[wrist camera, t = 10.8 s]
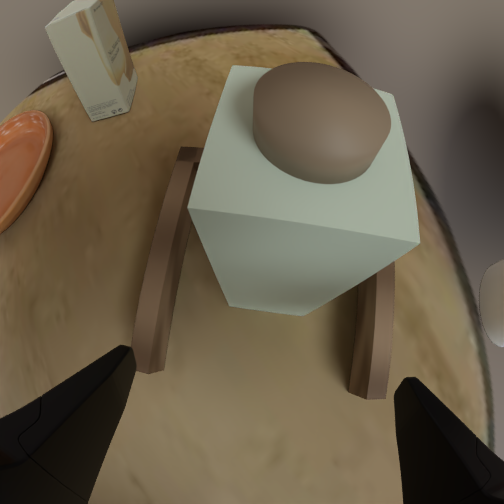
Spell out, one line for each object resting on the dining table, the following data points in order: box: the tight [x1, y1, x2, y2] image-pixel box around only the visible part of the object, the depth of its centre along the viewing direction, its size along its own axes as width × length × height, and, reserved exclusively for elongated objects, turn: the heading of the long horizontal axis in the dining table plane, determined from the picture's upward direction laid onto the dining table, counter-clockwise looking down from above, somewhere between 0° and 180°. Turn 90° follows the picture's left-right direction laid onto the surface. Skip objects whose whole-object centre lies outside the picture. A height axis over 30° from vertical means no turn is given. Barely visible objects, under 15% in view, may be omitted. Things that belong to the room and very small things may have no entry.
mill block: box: [187, 62, 420, 316], centre depth 12 cm, size 5×5×14 cm
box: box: [131, 147, 395, 400], centre depth 17 cm, size 14×14×3 cm
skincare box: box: [45, 0, 138, 122], centre depth 18 cm, size 6×4×12 cm
